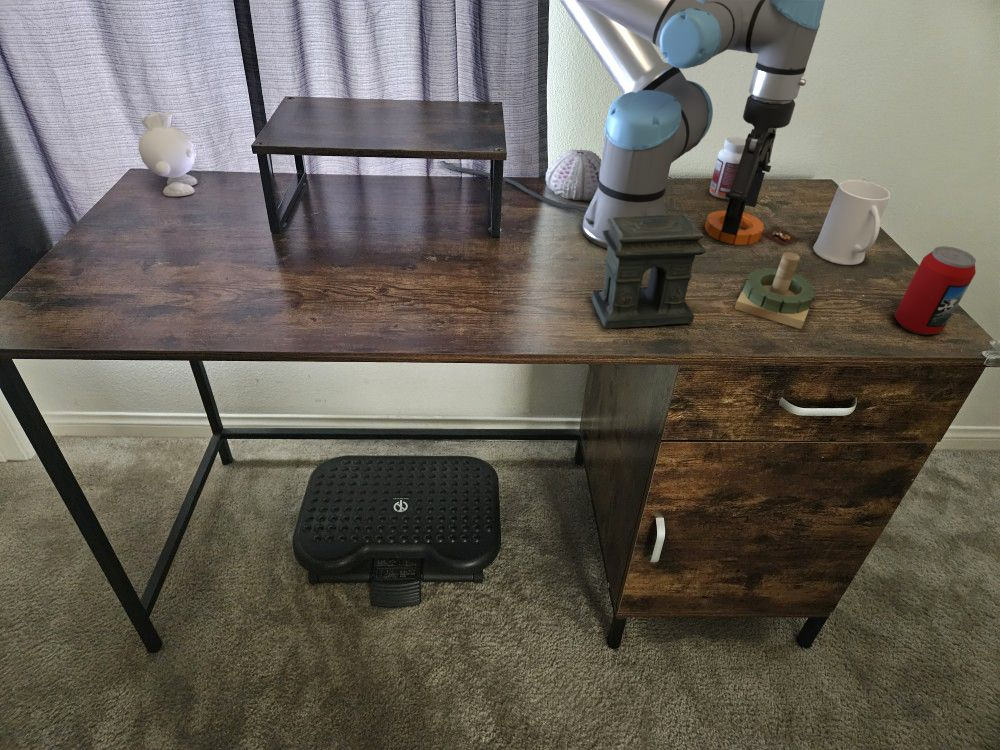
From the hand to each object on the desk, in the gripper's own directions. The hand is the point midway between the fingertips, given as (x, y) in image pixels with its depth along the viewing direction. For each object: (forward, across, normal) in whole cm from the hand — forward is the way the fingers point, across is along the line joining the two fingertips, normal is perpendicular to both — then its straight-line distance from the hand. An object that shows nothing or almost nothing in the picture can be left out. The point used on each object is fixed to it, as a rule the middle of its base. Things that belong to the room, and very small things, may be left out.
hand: (738, 218), depth 119 cm
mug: (+3, +1, -19) cm, 19 cm away
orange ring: (+3, 0, 0) cm, 3 cm away
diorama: (+3, +3, -8) cm, 9 cm away
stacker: (+3, -21, -12) cm, 24 cm away
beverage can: (+3, -15, -32) cm, 35 cm away
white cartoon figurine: (+2, -44, +97) cm, 107 cm away
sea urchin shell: (+2, 0, +32) cm, 32 cm away
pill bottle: (+3, +16, +6) cm, 17 cm away
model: (+3, -35, +6) cm, 35 cm away
